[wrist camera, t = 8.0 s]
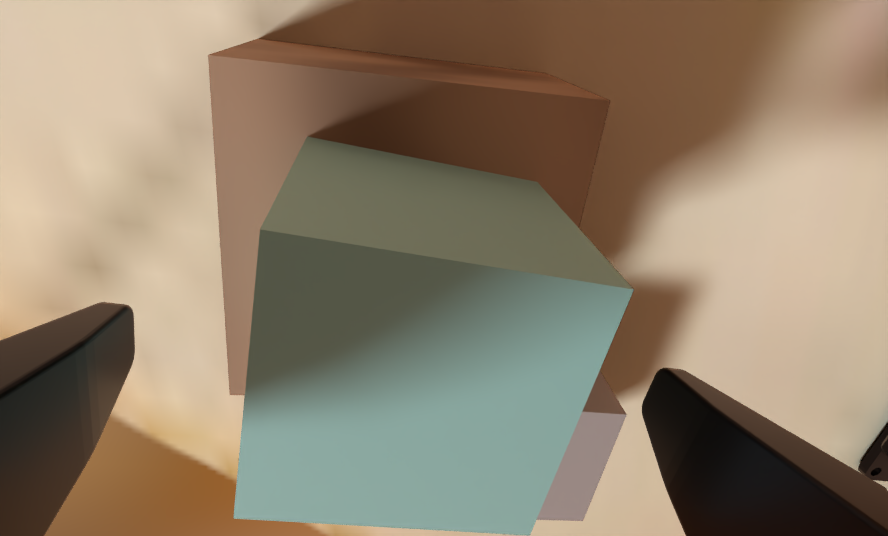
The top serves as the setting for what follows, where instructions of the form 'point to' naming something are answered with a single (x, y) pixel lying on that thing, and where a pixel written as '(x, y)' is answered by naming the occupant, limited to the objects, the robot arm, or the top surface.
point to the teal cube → (417, 345)
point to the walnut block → (378, 136)
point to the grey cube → (585, 456)
